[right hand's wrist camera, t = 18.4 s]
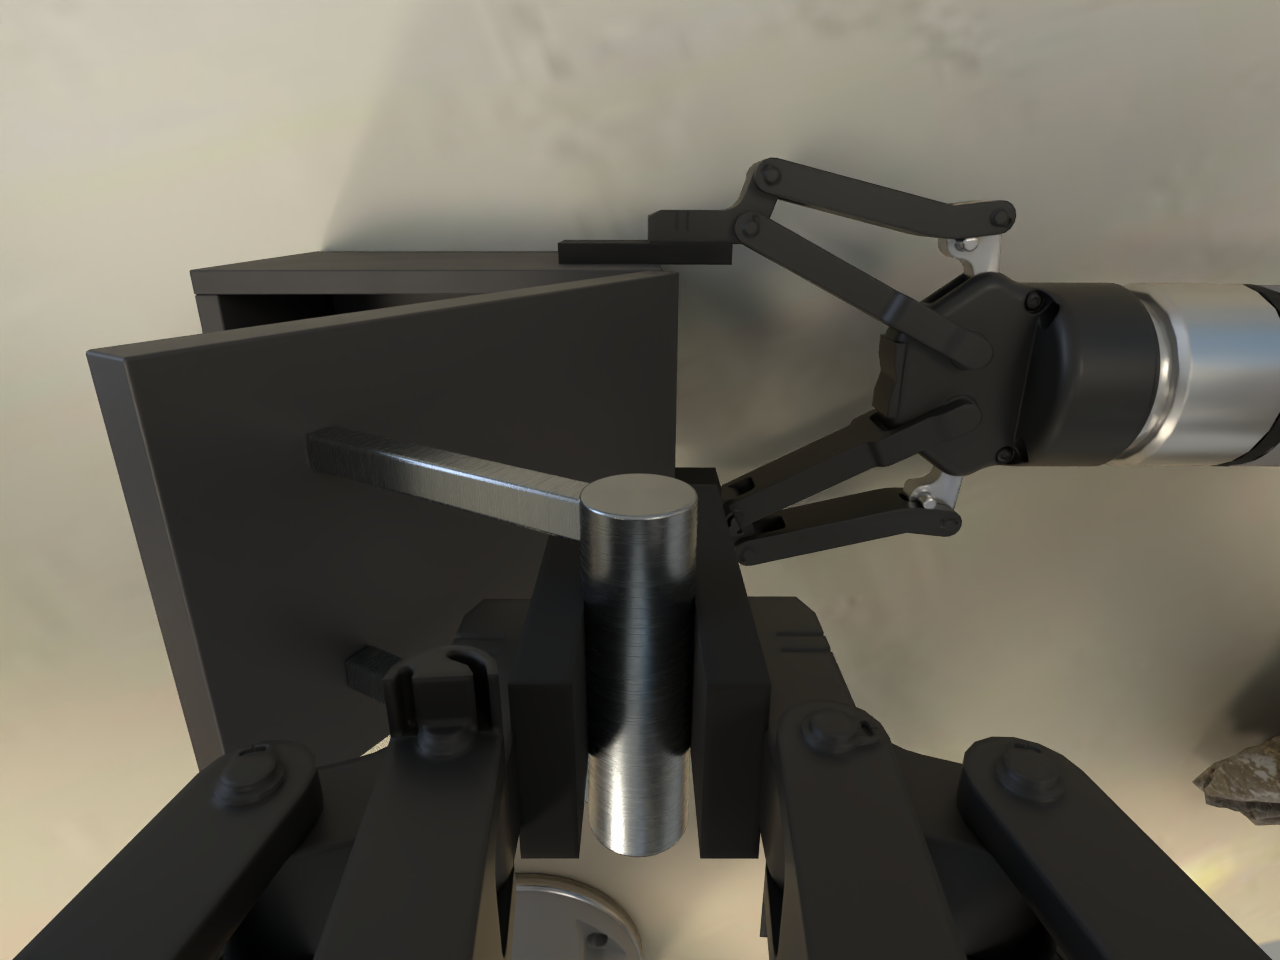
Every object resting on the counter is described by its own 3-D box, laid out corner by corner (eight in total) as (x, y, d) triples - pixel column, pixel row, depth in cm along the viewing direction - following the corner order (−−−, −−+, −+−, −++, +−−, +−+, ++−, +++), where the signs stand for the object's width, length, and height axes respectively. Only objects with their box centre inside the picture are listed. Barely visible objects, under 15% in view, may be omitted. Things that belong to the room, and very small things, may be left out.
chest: (343, 434, 38) (240, 517, 28) (315, 251, 34) (188, 270, 24) (651, 433, 38) (660, 514, 28) (652, 251, 35) (662, 269, 25)
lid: (209, 816, 14) (579, 1080, 10) (82, 349, 11) (550, 442, 7) (647, 518, 28) (883, 575, 23) (648, 270, 24) (922, 284, 20)
